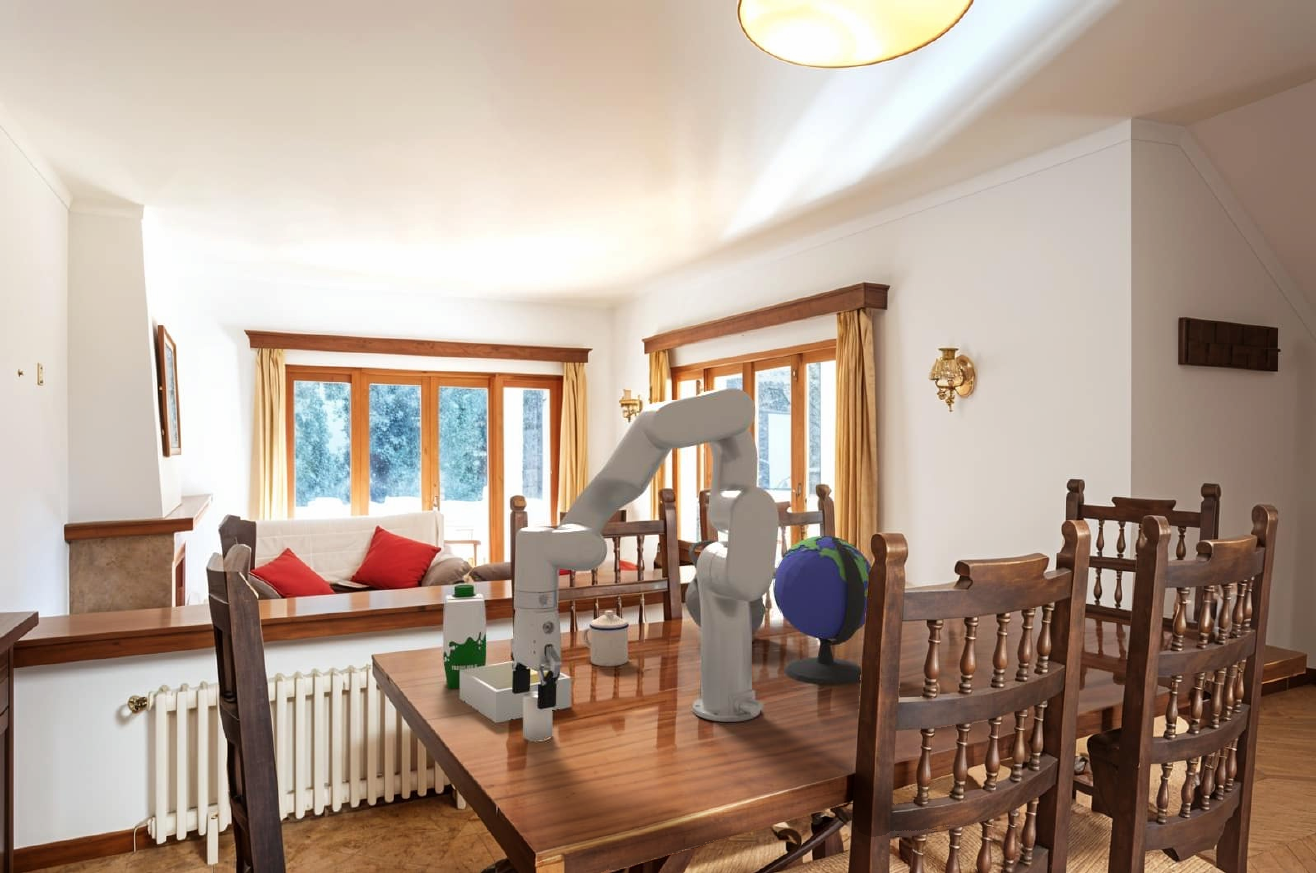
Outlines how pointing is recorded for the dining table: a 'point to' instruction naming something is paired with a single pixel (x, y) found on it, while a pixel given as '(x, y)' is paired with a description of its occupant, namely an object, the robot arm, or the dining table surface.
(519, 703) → the tote
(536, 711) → the white canister
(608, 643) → the teacup with lid
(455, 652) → the milk carton
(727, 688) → the robot arm
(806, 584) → the globe
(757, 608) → the pot
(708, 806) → the dining table surface
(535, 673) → the mustard block
